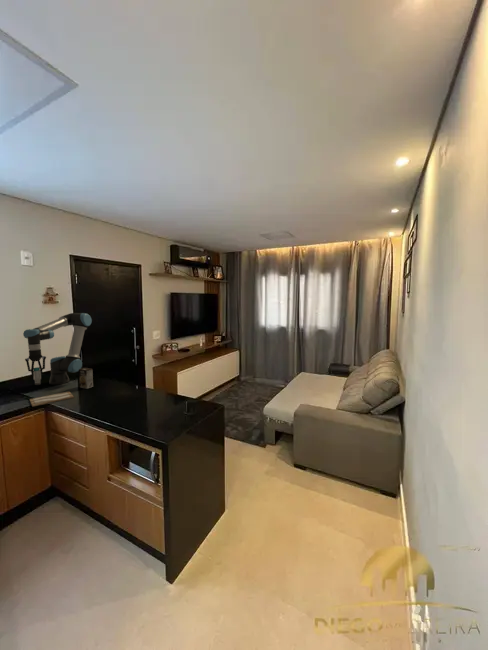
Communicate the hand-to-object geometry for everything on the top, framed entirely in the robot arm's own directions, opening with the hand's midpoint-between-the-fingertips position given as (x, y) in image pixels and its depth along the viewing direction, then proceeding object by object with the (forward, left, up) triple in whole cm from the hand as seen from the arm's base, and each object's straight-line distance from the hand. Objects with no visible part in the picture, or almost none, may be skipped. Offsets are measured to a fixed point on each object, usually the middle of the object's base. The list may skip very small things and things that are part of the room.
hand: (37, 378), depth 222 cm
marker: (0, 0, -4) cm, 4 cm away
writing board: (+14, +7, -14) cm, 21 cm away
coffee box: (0, +34, -14) cm, 37 cm away
